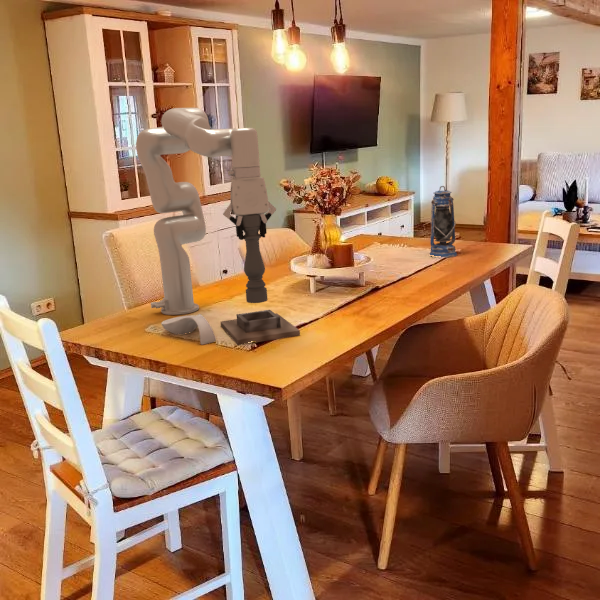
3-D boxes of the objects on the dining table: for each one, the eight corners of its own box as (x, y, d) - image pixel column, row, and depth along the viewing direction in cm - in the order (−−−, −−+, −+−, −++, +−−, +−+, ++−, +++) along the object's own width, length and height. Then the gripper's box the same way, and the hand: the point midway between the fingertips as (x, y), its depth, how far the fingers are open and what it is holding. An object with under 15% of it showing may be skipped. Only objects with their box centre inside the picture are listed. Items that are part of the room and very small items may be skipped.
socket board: (238, 345, 190) (236, 329, 188) (220, 326, 210) (219, 311, 209) (300, 335, 195) (299, 320, 194) (277, 317, 215) (276, 303, 214)
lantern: (444, 251, 311) (443, 184, 304) (465, 254, 301) (465, 184, 294) (420, 256, 302) (418, 187, 295) (441, 259, 292) (440, 188, 285)
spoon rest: (156, 332, 209) (153, 309, 207) (191, 324, 215) (188, 302, 214) (191, 349, 190) (188, 323, 188) (228, 339, 196) (226, 315, 195)
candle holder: (269, 297, 203) (262, 212, 197) (266, 302, 197) (259, 215, 191) (248, 298, 204) (241, 213, 198) (244, 303, 198) (237, 216, 192)
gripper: (219, 176, 186) (225, 243, 190) (280, 171, 191) (284, 236, 195) (213, 175, 193) (219, 239, 197) (272, 170, 198) (276, 233, 202)
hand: (251, 237), depth 196 cm, fingers closed on candle holder, 5 cm apart
